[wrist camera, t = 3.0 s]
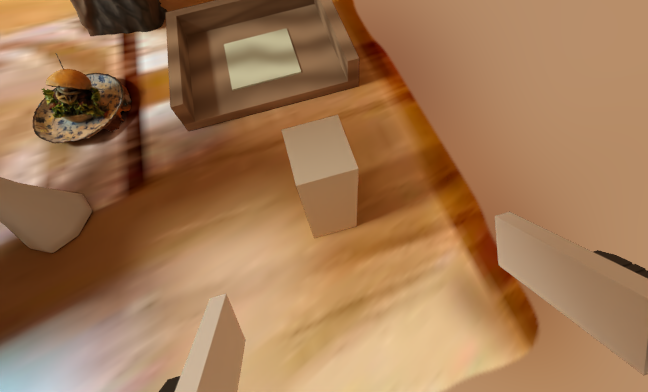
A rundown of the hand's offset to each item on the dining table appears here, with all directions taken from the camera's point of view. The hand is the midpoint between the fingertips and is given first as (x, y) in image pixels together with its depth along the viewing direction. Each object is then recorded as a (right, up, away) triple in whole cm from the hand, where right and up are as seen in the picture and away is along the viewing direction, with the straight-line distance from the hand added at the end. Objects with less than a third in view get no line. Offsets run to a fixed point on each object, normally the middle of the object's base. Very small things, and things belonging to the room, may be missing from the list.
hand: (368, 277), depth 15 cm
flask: (-31, +1, +20) cm, 37 cm away
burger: (-33, +15, +27) cm, 45 cm away
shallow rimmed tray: (-11, +23, +28) cm, 38 cm away
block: (-2, +2, +17) cm, 18 cm away
